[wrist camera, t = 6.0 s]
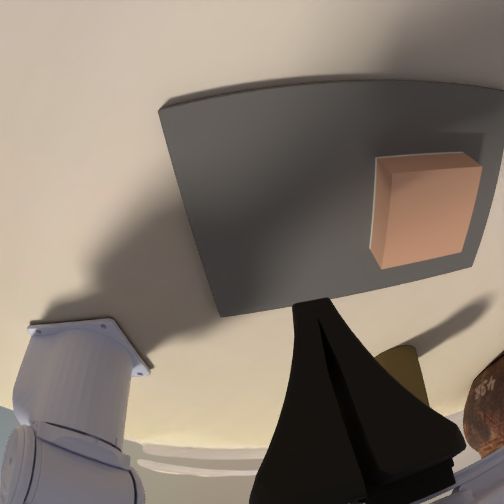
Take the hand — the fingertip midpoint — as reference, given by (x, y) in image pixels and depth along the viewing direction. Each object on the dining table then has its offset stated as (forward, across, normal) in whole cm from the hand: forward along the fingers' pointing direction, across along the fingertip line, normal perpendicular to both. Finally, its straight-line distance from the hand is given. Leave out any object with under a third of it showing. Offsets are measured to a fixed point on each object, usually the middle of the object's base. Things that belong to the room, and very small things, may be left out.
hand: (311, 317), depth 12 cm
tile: (+6, -5, 0) cm, 8 cm away
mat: (+7, -5, 0) cm, 9 cm away
